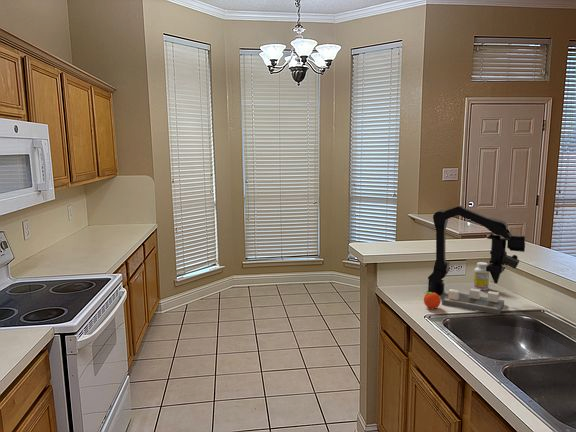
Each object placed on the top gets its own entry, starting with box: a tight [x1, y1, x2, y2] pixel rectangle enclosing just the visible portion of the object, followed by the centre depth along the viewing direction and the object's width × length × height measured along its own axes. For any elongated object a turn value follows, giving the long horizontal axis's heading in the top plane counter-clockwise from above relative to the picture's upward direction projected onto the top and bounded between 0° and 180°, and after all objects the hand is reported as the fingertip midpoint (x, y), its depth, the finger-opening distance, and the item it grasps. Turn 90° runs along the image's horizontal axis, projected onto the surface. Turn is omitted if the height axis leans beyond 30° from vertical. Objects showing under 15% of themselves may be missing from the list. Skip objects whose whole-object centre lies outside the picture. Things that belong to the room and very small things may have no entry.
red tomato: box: [421, 291, 442, 310], centre depth 187 cm, size 8×7×7 cm
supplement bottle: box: [473, 261, 490, 291], centre depth 212 cm, size 7×7×13 cm
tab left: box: [448, 288, 461, 300], centre depth 192 cm, size 4×3×4 cm
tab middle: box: [468, 287, 482, 299], centre depth 193 cm, size 4×3×4 cm
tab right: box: [487, 290, 500, 302], centre depth 188 cm, size 4×3×4 cm
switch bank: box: [441, 292, 505, 316], centre depth 191 cm, size 23×14×2 cm, turn 56°
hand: (496, 283), depth 193 cm, fingers closed
